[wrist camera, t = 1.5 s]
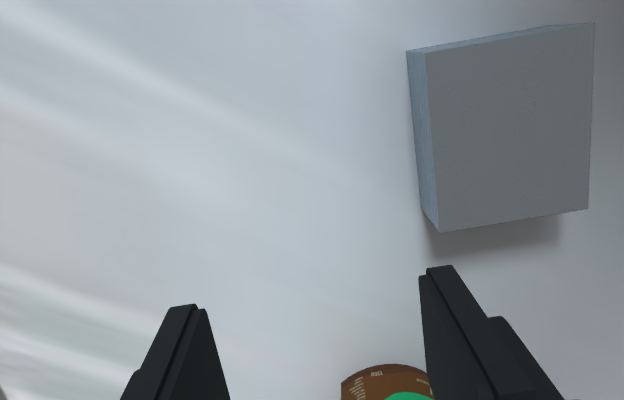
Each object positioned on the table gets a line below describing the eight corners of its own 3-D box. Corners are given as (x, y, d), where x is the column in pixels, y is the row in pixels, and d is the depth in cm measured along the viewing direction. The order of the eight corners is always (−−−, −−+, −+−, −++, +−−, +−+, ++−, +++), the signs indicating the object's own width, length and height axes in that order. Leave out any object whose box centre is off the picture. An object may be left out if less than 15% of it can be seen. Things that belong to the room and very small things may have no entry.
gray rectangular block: (405, 50, 27) (424, 52, 23) (548, 25, 27) (594, 22, 23) (419, 206, 31) (439, 233, 26) (547, 185, 30) (588, 208, 26)
